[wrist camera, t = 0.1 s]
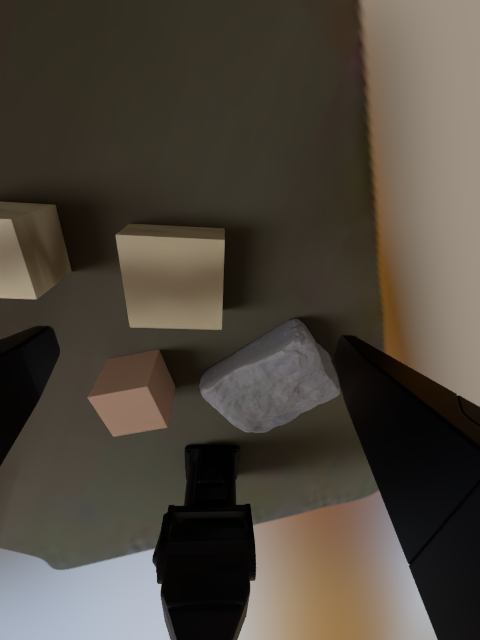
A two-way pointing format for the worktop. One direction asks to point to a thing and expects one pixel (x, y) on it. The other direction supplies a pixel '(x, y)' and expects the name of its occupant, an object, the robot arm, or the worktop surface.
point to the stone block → (271, 379)
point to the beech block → (30, 250)
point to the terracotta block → (134, 393)
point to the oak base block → (172, 275)
